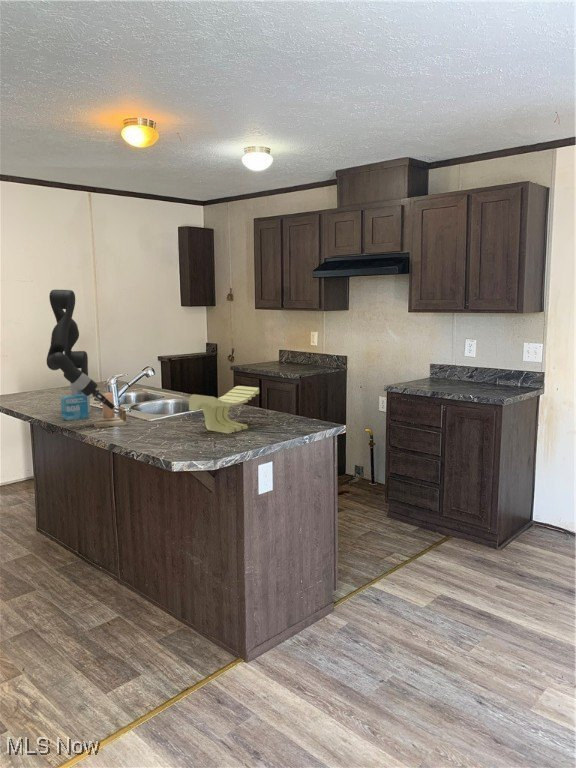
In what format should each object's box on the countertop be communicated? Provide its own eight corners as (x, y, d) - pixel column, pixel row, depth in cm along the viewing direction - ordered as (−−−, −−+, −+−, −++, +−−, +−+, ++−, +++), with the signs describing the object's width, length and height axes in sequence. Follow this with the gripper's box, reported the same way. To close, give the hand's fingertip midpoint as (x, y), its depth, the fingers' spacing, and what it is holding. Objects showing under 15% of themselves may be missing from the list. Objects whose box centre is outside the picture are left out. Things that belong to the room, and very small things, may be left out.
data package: (65, 421, 295) (63, 397, 293) (62, 420, 298) (60, 396, 296) (88, 417, 303) (87, 394, 301) (84, 416, 306) (83, 393, 304)
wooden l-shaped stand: (92, 423, 288) (91, 409, 287) (121, 420, 294) (120, 406, 293) (96, 428, 277) (95, 413, 276) (126, 425, 283) (125, 410, 282)
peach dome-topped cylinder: (102, 417, 286) (100, 392, 285) (113, 416, 289) (112, 392, 287) (104, 419, 282) (102, 394, 280) (115, 418, 284) (113, 393, 282)
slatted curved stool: (234, 421, 289) (233, 385, 286) (259, 424, 279) (259, 387, 276) (190, 432, 265) (188, 393, 262) (215, 437, 255) (214, 396, 253)
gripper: (92, 380, 273) (120, 403, 280) (88, 376, 285) (114, 398, 292) (81, 392, 271) (109, 415, 278) (77, 388, 284) (104, 410, 291)
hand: (112, 406), depth 285 cm, fingers closed on peach dome-topped cylinder, 5 cm apart
